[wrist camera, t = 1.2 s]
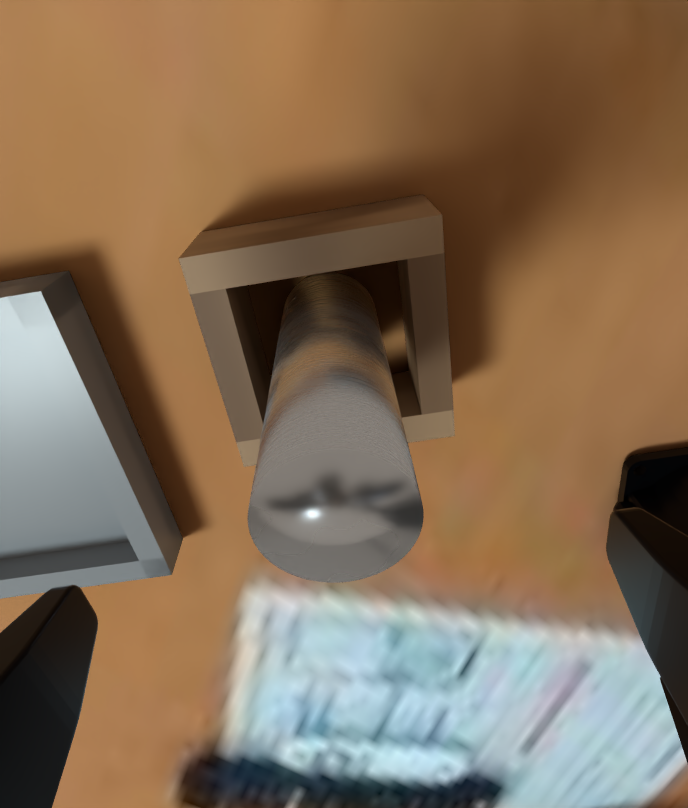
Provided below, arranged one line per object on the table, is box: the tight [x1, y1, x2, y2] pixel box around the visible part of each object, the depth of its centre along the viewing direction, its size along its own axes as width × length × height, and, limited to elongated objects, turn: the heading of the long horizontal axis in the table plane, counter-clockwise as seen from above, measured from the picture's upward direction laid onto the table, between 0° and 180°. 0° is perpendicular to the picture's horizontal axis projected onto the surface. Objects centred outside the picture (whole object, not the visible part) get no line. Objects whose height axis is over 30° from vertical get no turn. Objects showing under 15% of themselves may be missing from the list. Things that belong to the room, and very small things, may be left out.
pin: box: [248, 272, 423, 582], centre depth 14 cm, size 3×3×10 cm
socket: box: [179, 195, 455, 467], centre depth 17 cm, size 7×7×3 cm
